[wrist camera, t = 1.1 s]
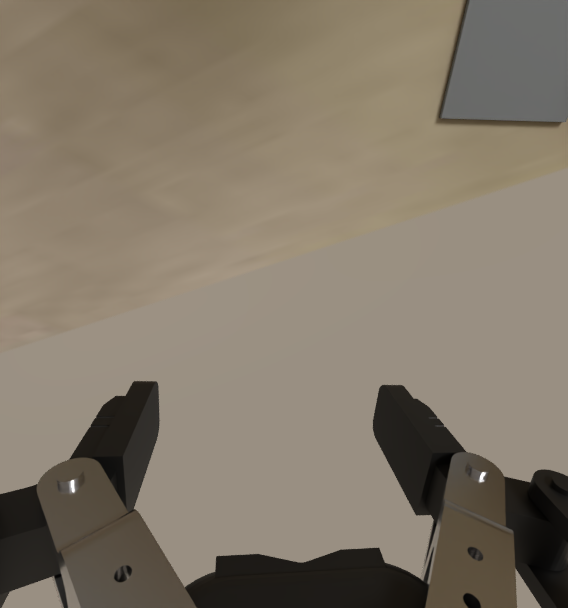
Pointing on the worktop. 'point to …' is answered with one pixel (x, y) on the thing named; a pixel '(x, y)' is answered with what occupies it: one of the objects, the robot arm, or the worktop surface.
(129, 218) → the worktop surface
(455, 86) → the mat
